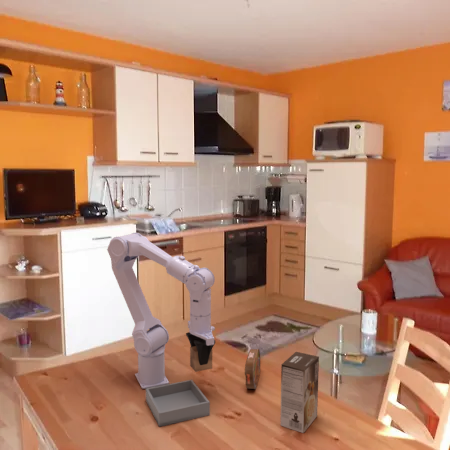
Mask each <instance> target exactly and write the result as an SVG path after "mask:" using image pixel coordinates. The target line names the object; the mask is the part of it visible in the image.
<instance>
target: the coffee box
mask: <svg viewBox="0 0 450 450" xmlns="http://www.w3.org/2000/svg"><path fill="white" fill-rule="evenodd" d="M319 358H320V356H317V355H313V354H309V353H305V352H300V351H295V352H294V353H293V354H291V356H289V357H288V358H287V359H285V361H284V362H283V363H281V364H280V365H281V370H280V371H281V372H280V373H281V374H280V375H281V379H280V426H281V427H284V428H287V429H289V430H291V431H292V430H293V431H296V432H299V433H301V434H304V433H305V432H306V431H307V429H308V428H309V427H310V426H311V425H312V424H313V422H314V421H315V419H317V417H318V407H319V405H318V403H319V401H318V398H319V362H320V361H319V360H320V359H319Z"/></svg>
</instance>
